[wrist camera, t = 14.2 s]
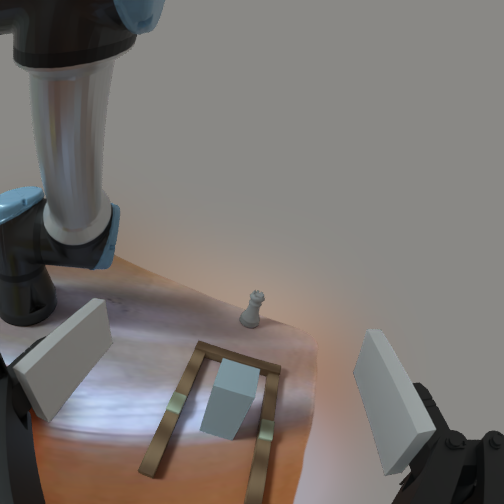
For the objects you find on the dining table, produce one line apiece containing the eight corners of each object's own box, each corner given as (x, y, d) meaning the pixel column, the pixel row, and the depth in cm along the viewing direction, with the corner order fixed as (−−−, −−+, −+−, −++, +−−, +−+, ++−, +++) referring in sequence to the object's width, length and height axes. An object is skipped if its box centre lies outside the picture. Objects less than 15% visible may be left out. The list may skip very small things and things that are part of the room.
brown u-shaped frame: (258, 507, 24) (262, 505, 24) (138, 472, 25) (137, 468, 24) (277, 371, 50) (280, 365, 50) (197, 346, 51) (198, 340, 50)
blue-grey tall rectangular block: (232, 440, 34) (254, 397, 30) (199, 430, 34) (213, 385, 30) (238, 415, 39) (260, 369, 34) (207, 406, 39) (223, 357, 34)
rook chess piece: (235, 318, 62) (244, 288, 59) (250, 314, 65) (260, 286, 62) (246, 330, 59) (256, 301, 56) (262, 326, 62) (272, 298, 59)
